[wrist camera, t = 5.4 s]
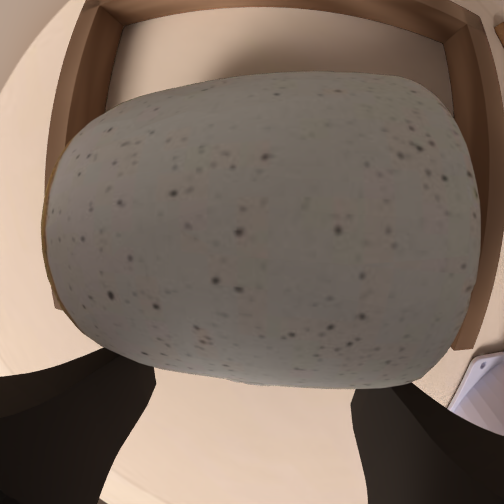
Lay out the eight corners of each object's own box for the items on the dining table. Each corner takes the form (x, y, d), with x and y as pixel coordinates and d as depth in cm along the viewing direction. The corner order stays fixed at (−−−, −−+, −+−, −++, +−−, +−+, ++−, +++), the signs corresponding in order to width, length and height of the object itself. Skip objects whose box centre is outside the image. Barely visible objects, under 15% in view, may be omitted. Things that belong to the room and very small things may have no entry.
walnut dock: (456, 34, 7) (479, 16, 5) (447, 324, 11) (472, 348, 8) (110, 16, 9) (87, -3, 7) (85, 290, 12) (55, 308, 10)
